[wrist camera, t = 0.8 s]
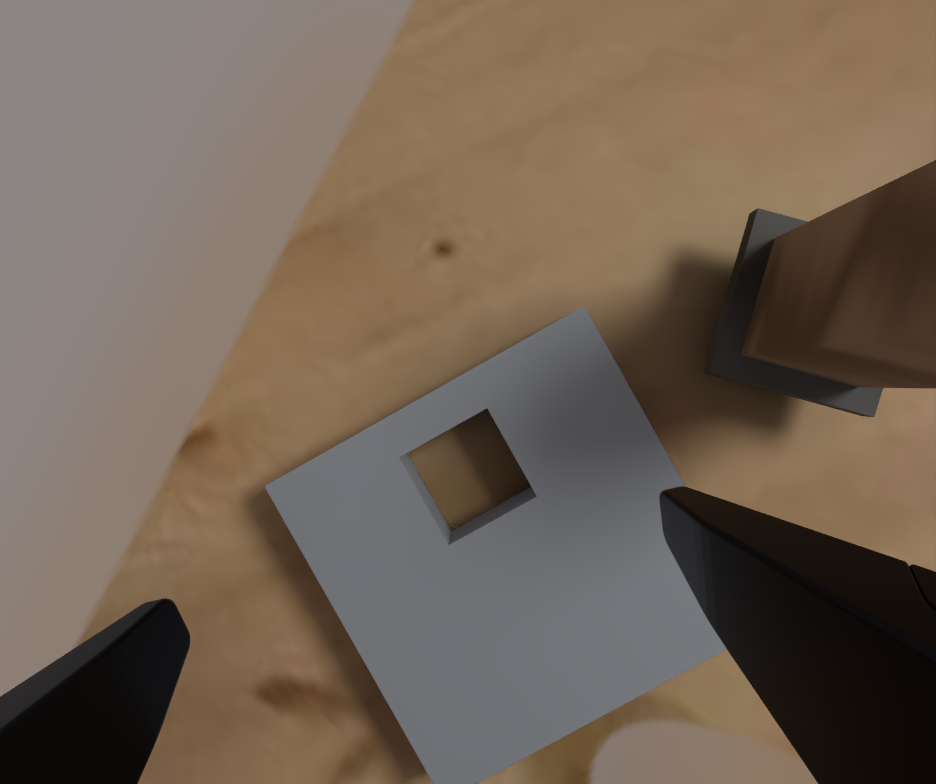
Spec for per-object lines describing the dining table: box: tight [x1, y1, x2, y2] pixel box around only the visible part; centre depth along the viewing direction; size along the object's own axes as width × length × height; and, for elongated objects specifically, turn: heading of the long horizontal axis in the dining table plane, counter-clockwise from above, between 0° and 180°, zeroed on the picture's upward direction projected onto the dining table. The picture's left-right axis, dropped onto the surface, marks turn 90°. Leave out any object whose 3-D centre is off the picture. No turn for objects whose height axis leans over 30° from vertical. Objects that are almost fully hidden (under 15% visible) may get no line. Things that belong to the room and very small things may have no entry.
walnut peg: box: [704, 160, 936, 417], centre depth 16 cm, size 7×7×13 cm
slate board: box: [264, 306, 727, 784], centre depth 22 cm, size 16×16×2 cm
